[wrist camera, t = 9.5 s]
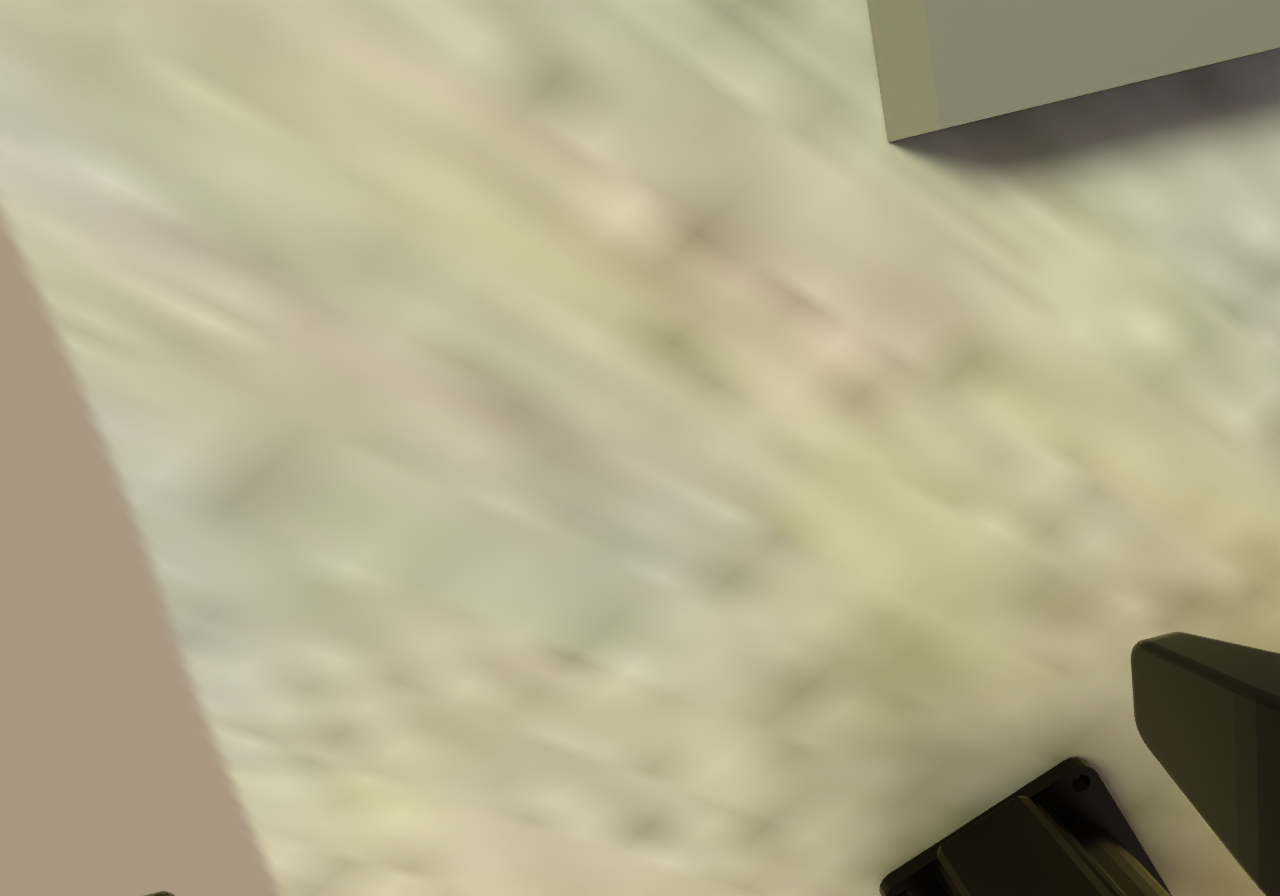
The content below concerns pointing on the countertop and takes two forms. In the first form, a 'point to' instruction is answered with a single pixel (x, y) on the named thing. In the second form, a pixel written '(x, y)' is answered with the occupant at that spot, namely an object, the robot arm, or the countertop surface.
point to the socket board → (1044, 51)
